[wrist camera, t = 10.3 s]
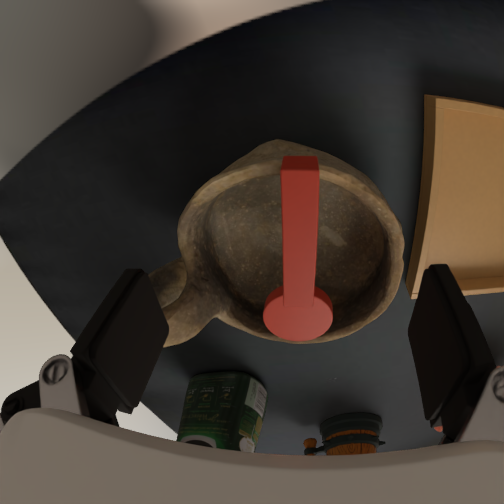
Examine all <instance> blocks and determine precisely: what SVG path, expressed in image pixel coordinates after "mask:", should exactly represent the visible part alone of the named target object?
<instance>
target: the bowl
mask: <svg viewBox="0 0 504 504" xmlns="http://www.w3.org/2000/svg"><path fill="white" fill-rule="evenodd" d="M283 156H317V158H318V164H319V171H320V177H319V215H318V239H317V258H316V274H315V286H316V287H318V288H320V289H321V290H323V291H324V292H325V293H326V294H327V295H328V296H329V298H330V300H331V302H332V308H333V321H332V324H331V326H330V328H329V329H328V330H327V331H326V332H325V333H324V334H323V335H321V336H319V337H317V338H315V339H312V340H308V341H290V340H286V339H282V338H280V337H278V336H276V335H274V334H273V333H272V332H271V331H270V330H269V329H268V328H267V327H266V325H265V323H264V320H263V311H264V305H265V301H266V299H267V297H268V295H269V294H270V293H271V292H272V291H273V290H275V289H276V288H278V287H280V286H282V285H283V255H282V212H281V181H280V169H281V165H282V160H283ZM177 234H178V247H179V249H180V251H181V255H182V256H181V257H180V258H178V259H176V260H174V261H172V262H170V263H168V264H166V265H164V266H162V267H160V268H158V269H156V270H155V271H153V272H152V273H150V274H149V275H148V276H149V278H150V281H151V284H152V286H153V289H154V291H155V294H156V296H157V299H158V301H159V304H160V306H161V308H162V311H163V313H164V316H165V318H166V320H167V323H168V325H169V335H168V337H167V339H166V342H165V344H164V346H163V347H167V346H172V345H176V344H180V343H182V342H185V341H187V340H189V339H190V338H192V337H194V336H195V335H197V334H198V333H199V332H200V331H201V330H202V329H203V328H204V327H205V326H206V324H207V323H208V322H209V321H210V320H211V319H212V318H215V317H217V318H219V319H220V320H222V321H223V322H225V323H227V324H229V325H231V326H233V327H236V328H238V329H240V330H243V331H246V332H248V333H250V334H253V335H255V336H258V337H261V338H265V339H269V340H274V341H282V342H287V343H294V344H306V343H321V342H326V341H331V340H335V339H338V338H341V337H345V336H347V335H350V334H352V333H354V332H355V331H357V330H359V329H361V328H362V327H364V326H365V325H367V324H368V323H370V322H372V321H373V320H375V319H376V318H377V317H378V316H380V315H381V314H382V313H383V312H384V311H385V310H386V309H387V308H388V306H389V305H390V303H391V302H392V300H393V298H394V296H395V294H396V292H397V290H398V288H399V284H400V280H401V276H402V273H403V267H404V261H403V259H402V255H403V251H404V237H403V235H402V226H401V223H400V221H399V219H398V218H397V217H396V216H395V214H394V213H393V211H392V210H391V208H390V206H389V205H388V203H387V201H386V199H385V197H384V196H383V194H382V193H381V192H380V190H379V189H378V188H377V186H376V185H375V184H374V183H373V182H372V181H371V180H370V179H369V177H368V176H367V175H365V174H363V173H362V172H360V171H359V170H357V169H356V168H354V167H352V166H351V165H349V164H347V163H346V162H344V161H342V160H340V159H338V158H336V157H334V156H332V155H330V154H328V153H325V152H322V151H319V150H316V149H313V148H310V147H307V146H304V145H301V144H297V143H294V142H290V141H285V140H280V139H276V140H272V141H269V142H266V143H264V144H261V145H259V146H258V147H256V148H255V149H254V150H252V151H251V152H250V153H248V154H247V155H245V156H243V157H241V158H240V159H238V160H236V161H235V162H234V163H232V164H231V165H229V166H228V167H227V168H226V169H225V170H223V171H222V172H221V173H220V174H219V175H216V176H215V177H213V178H211V179H210V180H209V181H208V182H206V183H205V184H204V185H203V186H202V187H201V188H200V189H199V190H198V191H197V192H196V193H195V194H194V196H193V197H192V198H191V200H190V201H189V203H188V204H187V205H186V207H185V209H184V210H183V212H182V214H181V216H180V218H179V223H178V229H177Z"/></svg>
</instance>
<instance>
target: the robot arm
mask: <svg viewBox="0 0 504 504" xmlns="http://www.w3.org/2000/svg"><path fill="white" fill-rule="evenodd" d="M168 335H169V325H168V323H167V320H166V318H165V316H164V313H163V311H162V308H161V306H160V304H159V301H158V299H157V296H156V294H155V291H154V289H153V286H152V284H151V281H150V278H149V276H148V274H147V273H144V271H143V270H142V269H126V270H125V271H124V272H123V274H122V275H121V277H120V278H119V279H118V281H117V282H116V283H115V285H114V286H113V288H112V289H111V290H110V292H109V293H108V295H107V296H106V298H105V299H104V300H103V302H102V303H101V305H100V306H99V308H98V309H97V311H96V312H95V314H94V315H93V317H92V318H91V320H90V321H89V323H88V324H87V326H86V327H85V329H84V330H83V332H82V333H81V335H80V336H79V338H78V339H77V341H76V343H75V344H74V346H73V347H72V349H71V350H70V352H71V353H72V354H73V357H72V358H71V359H70V358H69V357H68V356H66V355H62V354H59V355H56V356H53V357H51V358H50V359H49V360H47V361H46V362H45V363H44V365H43V366H42V368H41V370H40V374H39V380H38V381H36V382H34V383H32V384H30V385H28V386H26V387H24V388H22V389H20V390H18V391H16V392H14V393H12V394H10V395H9V396H8V397H7V398H6V399H5V401H4V403H3V405H2V408H1V413H0V504H504V366H500V367H497V368H496V365H495V362H494V359H493V357H492V354H491V352H490V349H489V347H488V344H487V342H486V339H485V337H484V335H483V332H482V330H481V328H480V325H479V323H478V321H477V319H476V317H475V314H474V312H473V310H472V308H471V306H470V305H469V304H468V303H467V301H466V299H465V297H464V295H463V293H462V291H461V289H460V287H459V285H458V283H457V281H456V279H455V277H454V275H453V274H452V272H451V270H450V268H449V266H448V265H447V264H431V265H430V266H429V268H428V269H425V270H424V272H423V276H422V280H421V284H420V288H419V292H418V296H417V299H416V303H415V307H414V310H413V314H412V317H411V320H410V324H409V327H408V337H409V341H410V345H411V349H412V354H413V358H414V362H415V367H416V372H417V376H418V381H419V386H420V392H421V397H422V403H423V408H424V415H425V418H426V420H430V425H431V428H434V427H439V426H442V428H443V433H444V436H443V437H442V439H441V441H440V442H439V444H438V445H436V446H430V447H424V448H417V449H409V450H401V451H392V452H382V453H371V454H356V455H331V456H305V455H278V454H263V453H252V452H242V451H233V450H225V449H218V448H211V447H205V446H199V445H193V444H188V443H183V442H178V441H173V440H168V439H163V438H159V437H154V436H151V435H147V434H142V433H139V432H135V431H131V430H128V429H124V428H121V427H119V424H118V421H117V418H116V415H115V414H116V412H117V409H118V410H119V411H121V412H124V413H128V414H132V411H133V409H134V408H135V407H137V406H138V404H139V402H140V400H141V397H142V395H143V392H144V390H145V388H146V385H147V383H148V381H149V378H150V376H151V374H152V371H153V369H154V367H155V364H156V362H157V360H158V357H159V355H160V353H161V351H162V348H163V346H164V344H165V342H166V339H167V337H168Z"/></svg>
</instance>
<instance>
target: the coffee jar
mask: <svg viewBox="0 0 504 504" xmlns="http://www.w3.org/2000/svg"><path fill="white" fill-rule="evenodd" d="M267 402H268V394H267V391H266V389H265V388H264V386H263V384H262V383H261V382H260V381H259V380H257V379H256V378H254V377H253V376H250V375H248V374H247V373H244V372H238V371H231V372H213V373H205V374H199V375H196V376H194V377H193V378H192V379H191V380H190V382H189V385H188V389H187V392H186V397H185V402H184V407H183V412H182V418H181V422H180V427H179V431H178V436H177V440H176V441H178V442H183V443H188V444H193V445H199V446H205V447H211V448H218V449H225V450H233V451H242V452H252V453H254V452H255V449H256V445H257V441H258V437H259V434H260V430H261V427H262V423H263V419H264V416H265V412H266V407H267Z"/></svg>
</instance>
